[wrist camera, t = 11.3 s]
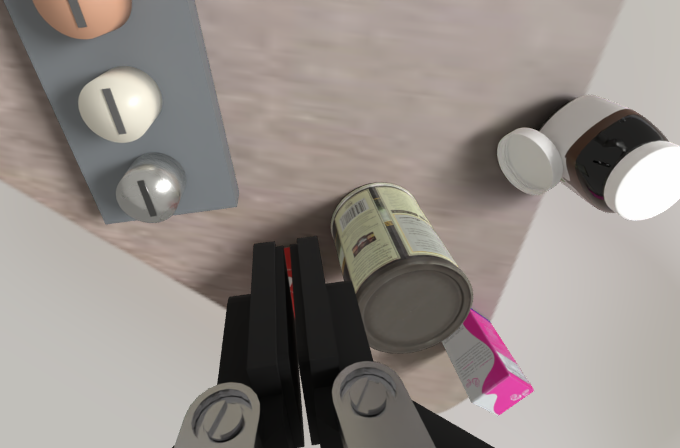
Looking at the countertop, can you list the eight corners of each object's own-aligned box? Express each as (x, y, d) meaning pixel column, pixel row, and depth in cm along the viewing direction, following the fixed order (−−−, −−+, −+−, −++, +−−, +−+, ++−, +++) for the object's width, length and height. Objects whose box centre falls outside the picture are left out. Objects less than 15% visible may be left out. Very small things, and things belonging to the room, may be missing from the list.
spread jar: (617, 141, 44) (716, 190, 35) (531, 209, 48) (598, 271, 38) (571, 60, 39) (672, 91, 29) (476, 144, 42) (539, 197, 32)
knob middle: (102, 61, 33) (65, 82, 27) (160, 55, 33) (136, 74, 27) (123, 117, 35) (93, 147, 29) (176, 111, 36) (158, 139, 30)
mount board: (-2, -66, 28) (-29, -70, 25) (175, -79, 29) (167, -84, 26) (115, 208, 40) (105, 224, 37) (239, 192, 41) (237, 206, 38)
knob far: (132, 143, 37) (106, 176, 31) (184, 136, 37) (167, 169, 31) (148, 188, 39) (127, 227, 33) (197, 181, 40) (184, 219, 34)
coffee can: (397, 267, 49) (437, 361, 37) (317, 249, 46) (334, 345, 34) (436, 195, 45) (497, 277, 33) (351, 169, 41) (384, 249, 30)
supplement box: (460, 345, 59) (497, 418, 49) (434, 329, 56) (468, 403, 47) (491, 321, 57) (536, 392, 47) (466, 303, 54) (508, 374, 45)
